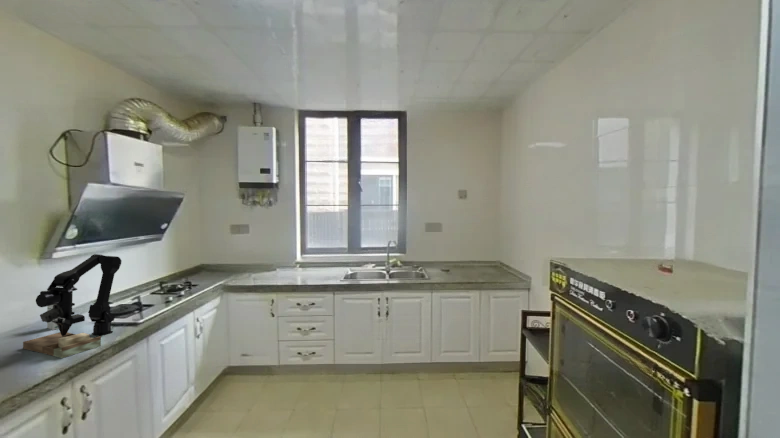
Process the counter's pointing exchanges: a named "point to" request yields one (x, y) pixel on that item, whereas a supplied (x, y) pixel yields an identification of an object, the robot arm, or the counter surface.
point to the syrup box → (50, 324)
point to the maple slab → (73, 339)
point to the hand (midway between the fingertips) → (63, 335)
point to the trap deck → (52, 345)
